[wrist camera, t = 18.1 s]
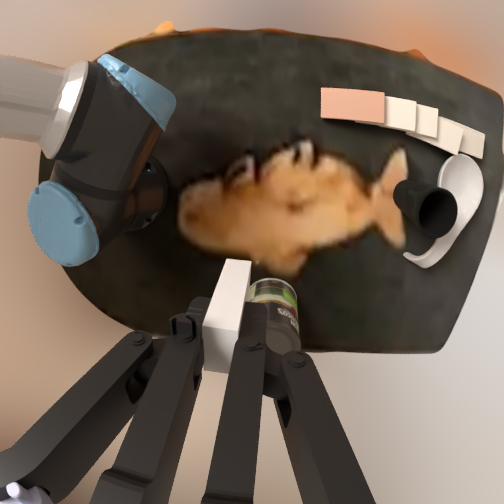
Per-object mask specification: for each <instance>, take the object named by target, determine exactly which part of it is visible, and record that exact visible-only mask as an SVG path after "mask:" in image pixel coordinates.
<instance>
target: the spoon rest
mask: <svg viewBox="0 0 504 504" xmlns="http://www.w3.org/2000/svg"><path fill="white" fill-rule="evenodd" d="M437 187H441V188H444V189H447V190H448V191H450V192H451V193H452V194H453V196H454V197H455V199H456V202H457V207H458V214H457V219H456V222H455V224H454V226H453V228H452V229H451V230H450V231H449V232H448V233H447V234H446V235H445V236H443V237H440V238H437V239H436V241H435V243H434V244H433V246H432V247H431V248H430V249H429V250H428V251H427V252H426V253H425V254H423V255H421V256H415V255H413V254H411V253H409V252H405V253H404V254H403V256H404V257H405V258H407V259H408V260H410V261H412V262H414V263H415V264H417V265H418V266H420V267H422V268H428V267H430V266H432V265H434V264H435V263H436V262H438V261H439V260H440V259H441V258H442V257H443V256H444V255H445V254H446V252H447V251H448V250H449V248H450V247H451V246H452V244H453V242H454V241H455V239H456V238H457V236H458V235H459V234H460V232H461V231H462V229H463V228H464V227H465V225H466V224H467V223H468V222H469V220H470V219H471V217H472V216H473V215H474V213H475V211H476V210H477V208H478V206H479V204H480V202H481V199H482V194H483V177H482V174H481V171H480V169H479V167H478V165H477V164H476V163H475V161H474V160H473V159H472V158H470V157H469V156H467V155H465V154H457V155H453V156H451V157H450V158H448V159H447V160H446V161H445V163H444V164H443V166H442V167H441V170H440V172H439V176H438V182H437Z"/></svg>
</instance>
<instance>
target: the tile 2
mask: <svg viewBox="0 0 504 504" xmlns="http://www.w3.org/2000/svg"><path fill="white" fill-rule="evenodd" d="M437 122H438V109H436V108H432V107H427V106H423V105H419V104H416V121H415V131H414V132H413V131H407V130H402V129H397V128H391V127H385V126H379V127H385V128H390V129H396V130H401V131H406V132H411V133H415V134H420V135H424V136H429V137H433V138H436V137H437Z"/></svg>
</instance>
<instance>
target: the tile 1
mask: <svg viewBox="0 0 504 504" xmlns="http://www.w3.org/2000/svg"><path fill="white" fill-rule="evenodd" d="M415 121H416V101H410V100H405V99H400V98H394V97H387V96H384V124H381V123H373V122H364V121H355V122H357V123H365V124H372V125H378V126H385V127H391V128H397V129H402V130H407V131H413V132H414V131H415Z"/></svg>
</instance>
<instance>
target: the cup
mask: <svg viewBox="0 0 504 504" xmlns="http://www.w3.org/2000/svg"><path fill="white" fill-rule="evenodd" d="M393 199H394V202H395V204H396V205H397V206H398V207H399V208H400V209H401V210H402V211H403V212H404V214H405V215H406V216H407V217H408V218H409V219H410V220H411V221H412V222H413V223H414V224H415V225H416V226H417V228H418V229H419V230H420V231H421V232H422V233H423V234H424V235H425V236H427V237H428V238H432V239H436V238H440V237H443V236H445V235H446V234H447V233H448V232H449V231H450V230H451V229H452V228H453V226H454V224H455V222H456V219H457V214H458V207H457V202H456V199H455V197H454V196H453V194H452V193H451V192H450V191H448V190H447V189H444V188H441V187H437V186H433V185H428V184H424V183H420V182H416V181H411V180H403V181H401V182H399V183H398V184H397V185H396V187H395V189H394V192H393Z"/></svg>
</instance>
